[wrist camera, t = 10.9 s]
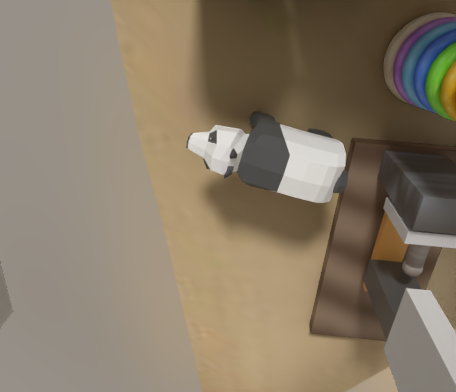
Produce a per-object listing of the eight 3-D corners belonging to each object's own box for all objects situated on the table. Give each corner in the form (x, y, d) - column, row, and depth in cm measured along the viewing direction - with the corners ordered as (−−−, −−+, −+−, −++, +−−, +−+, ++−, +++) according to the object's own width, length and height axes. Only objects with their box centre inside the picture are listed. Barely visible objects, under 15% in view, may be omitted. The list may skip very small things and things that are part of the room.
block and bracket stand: (377, 183, 39) (412, 238, 30) (437, 189, 39) (490, 245, 30) (349, 284, 45) (372, 354, 36) (401, 289, 45) (436, 360, 36)
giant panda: (343, 131, 39) (367, 169, 31) (323, 179, 42) (341, 226, 33) (203, 93, 38) (188, 120, 30) (192, 144, 41) (175, 183, 32)
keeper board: (352, 137, 39) (385, 186, 29) (471, 148, 39) (547, 201, 29) (309, 324, 51) (322, 406, 41) (400, 333, 51) (436, 418, 41)
